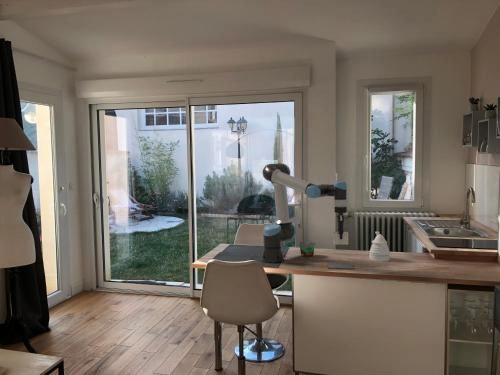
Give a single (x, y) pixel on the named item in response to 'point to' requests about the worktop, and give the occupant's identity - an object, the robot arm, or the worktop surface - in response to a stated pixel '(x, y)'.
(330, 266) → the rubber mat
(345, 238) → the card box
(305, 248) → the food container
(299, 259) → the worktop surface
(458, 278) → the worktop surface
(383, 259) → the honey pot
